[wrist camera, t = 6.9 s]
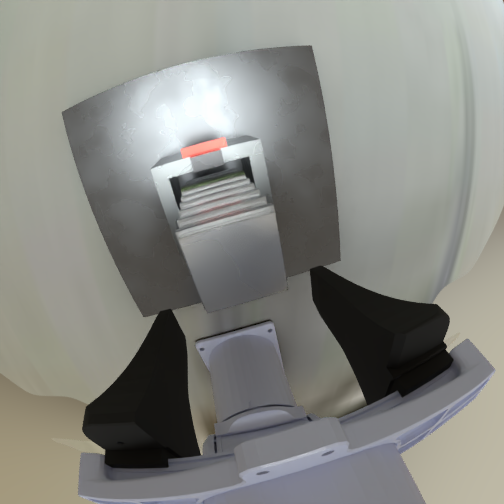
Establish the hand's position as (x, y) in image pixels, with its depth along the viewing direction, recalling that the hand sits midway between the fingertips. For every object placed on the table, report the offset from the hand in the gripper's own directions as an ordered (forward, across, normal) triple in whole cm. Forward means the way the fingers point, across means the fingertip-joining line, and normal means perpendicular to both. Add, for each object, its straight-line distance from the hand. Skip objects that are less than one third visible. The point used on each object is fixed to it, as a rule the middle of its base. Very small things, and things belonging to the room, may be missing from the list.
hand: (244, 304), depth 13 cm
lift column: (+5, 0, -4) cm, 7 cm away
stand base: (+9, 0, -4) cm, 10 cm away
